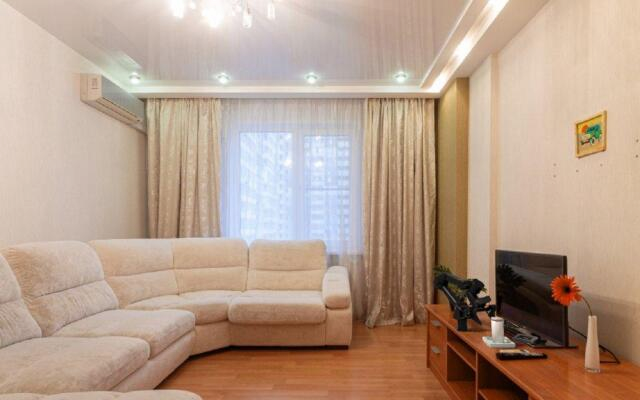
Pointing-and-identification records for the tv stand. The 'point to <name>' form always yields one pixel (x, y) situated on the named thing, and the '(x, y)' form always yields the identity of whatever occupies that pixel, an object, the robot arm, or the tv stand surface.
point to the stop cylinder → (497, 330)
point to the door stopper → (509, 324)
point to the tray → (506, 344)
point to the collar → (523, 341)
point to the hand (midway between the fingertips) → (488, 324)
